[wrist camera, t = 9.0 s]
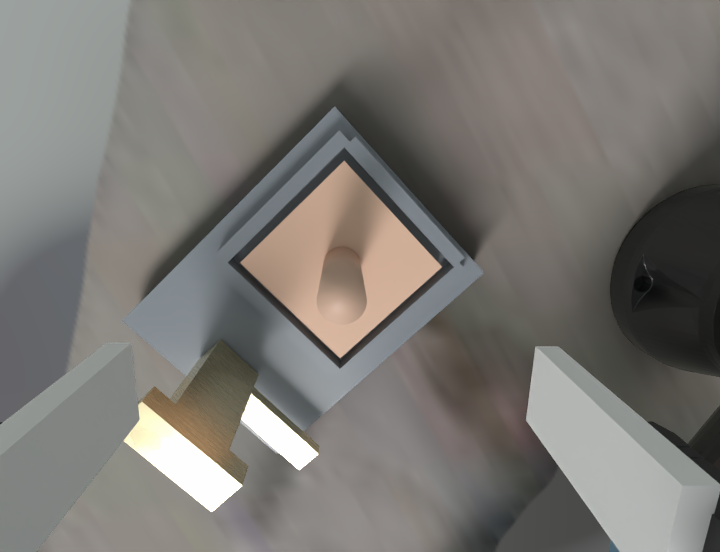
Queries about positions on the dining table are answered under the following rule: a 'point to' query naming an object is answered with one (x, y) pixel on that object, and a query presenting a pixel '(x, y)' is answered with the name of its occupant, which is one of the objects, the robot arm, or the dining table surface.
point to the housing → (269, 315)
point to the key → (213, 427)
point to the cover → (341, 261)
